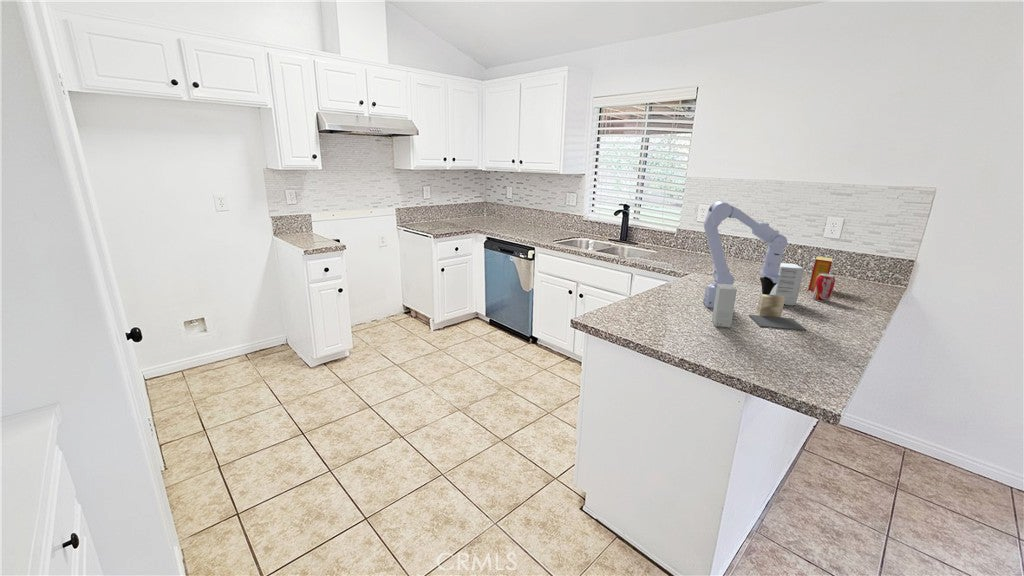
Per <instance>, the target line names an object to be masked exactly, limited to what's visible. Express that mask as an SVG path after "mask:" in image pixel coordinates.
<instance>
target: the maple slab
mask: <svg viewBox="0 0 1024 576" xmlns="http://www.w3.org/2000/svg"><path fill="white" fill-rule="evenodd" d="M784 301H785V298H784V297H783V296H777V295H765V294H762V293H760V295H759V299H758V305H757V309H756V313H757V314H758V315H759V316H771V317H782V313H783V309H784V306H785V305H784ZM757 314H756V315H757Z"/></svg>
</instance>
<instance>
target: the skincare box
mask: <svg viewBox="0 0 1024 576" xmlns="http://www.w3.org/2000/svg"><path fill="white" fill-rule="evenodd" d="M737 291H738V289H737V288H736V287H735V286H734V284H732V285H731V284H717V289H716V296H715V303H714V308H712V309H713V310H712V317H711V320H712V323H713V325H714V326H715V327H721V328H729V329H731V327H732V323H733V316H734V310H735V309H734V308H735V303H736V295H737Z"/></svg>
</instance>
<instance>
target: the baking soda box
mask: <svg viewBox="0 0 1024 576" xmlns="http://www.w3.org/2000/svg"><path fill="white" fill-rule="evenodd" d="M832 263H833V258H832V257H828V256H827V257H826V256H818V255H816V258H815V261H814V264H813V268H812V272H811V276H810V280H809V284H808V289H807V290H808V291H810V290H812V292H813V289H814V285H815V281H816V278H817V276H818V275H819V274H820V273H826V274H830V271H831V267H832Z"/></svg>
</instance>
